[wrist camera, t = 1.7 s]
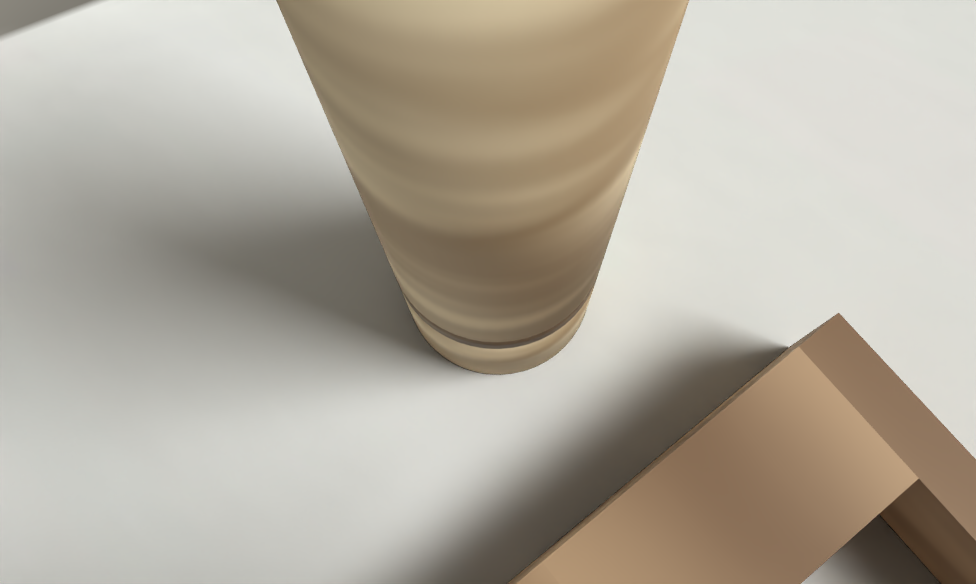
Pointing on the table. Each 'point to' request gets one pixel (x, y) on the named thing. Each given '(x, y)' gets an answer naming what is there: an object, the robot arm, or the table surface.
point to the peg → (490, 151)
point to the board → (785, 482)
